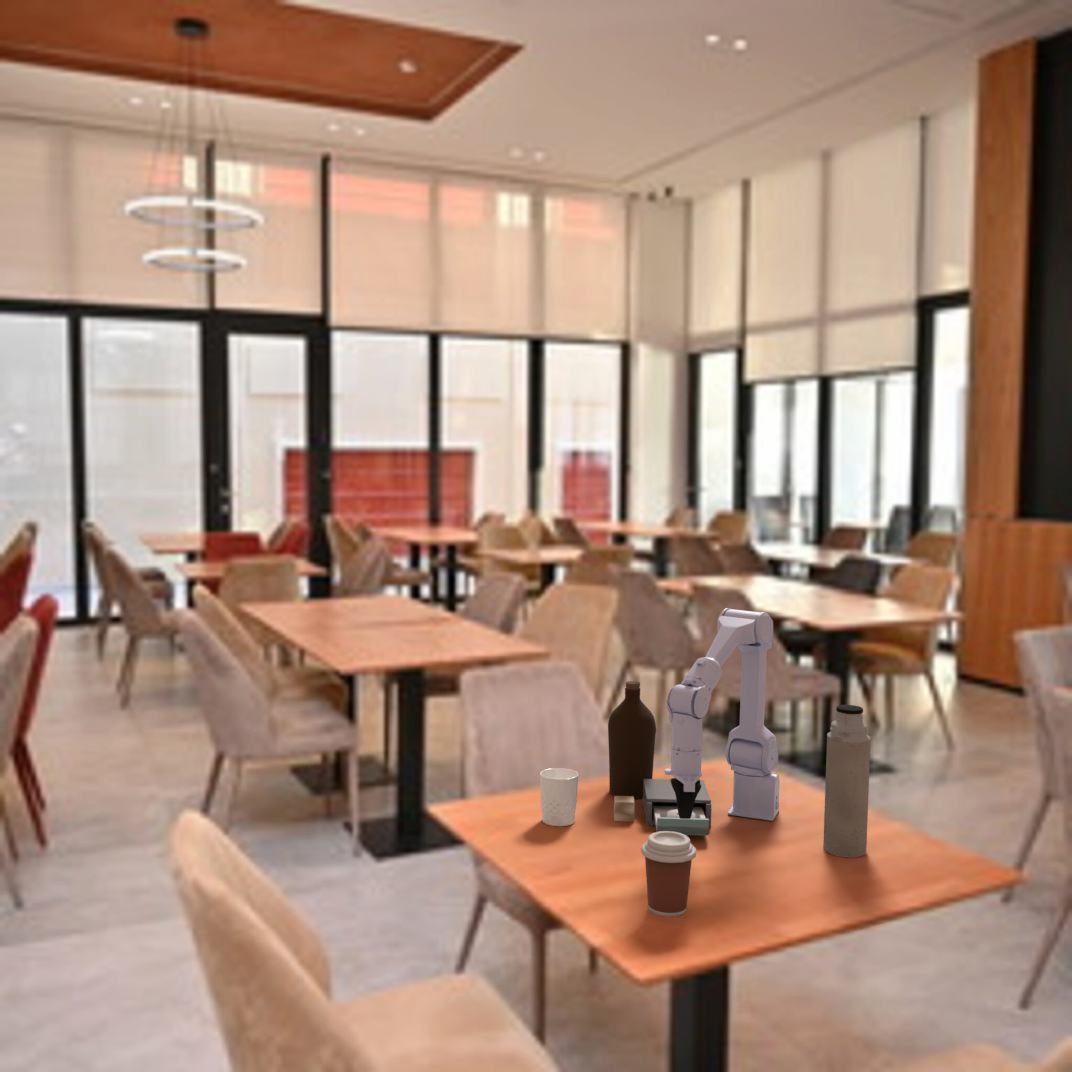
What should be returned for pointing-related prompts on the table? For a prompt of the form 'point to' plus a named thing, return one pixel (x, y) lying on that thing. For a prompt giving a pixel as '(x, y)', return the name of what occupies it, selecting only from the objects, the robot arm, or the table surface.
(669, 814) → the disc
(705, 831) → the tray
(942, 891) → the table surface
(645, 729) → the olive oil
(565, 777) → the white cup
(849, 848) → the thermos bottle
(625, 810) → the birch block
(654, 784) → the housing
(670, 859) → the coffee cup
